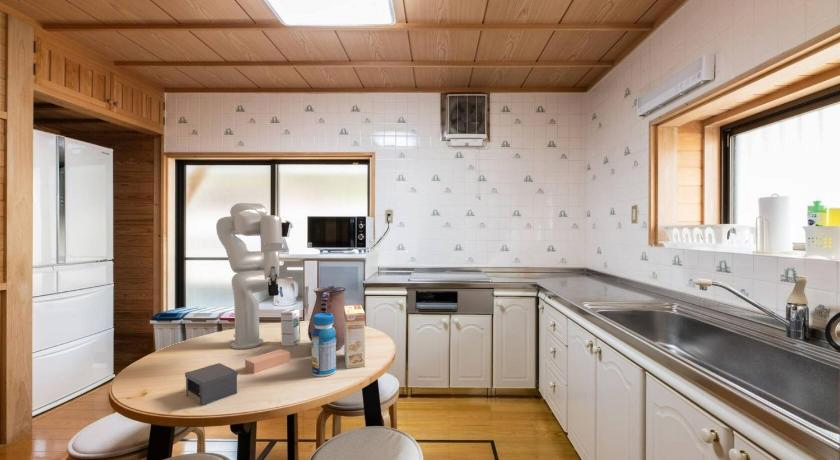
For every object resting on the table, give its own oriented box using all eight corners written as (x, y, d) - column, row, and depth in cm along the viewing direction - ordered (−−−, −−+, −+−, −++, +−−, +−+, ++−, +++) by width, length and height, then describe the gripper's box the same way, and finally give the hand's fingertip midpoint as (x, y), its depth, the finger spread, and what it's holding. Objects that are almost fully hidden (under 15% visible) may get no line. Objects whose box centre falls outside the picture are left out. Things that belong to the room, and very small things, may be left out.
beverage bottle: (330, 378, 124) (329, 318, 124) (307, 376, 125) (306, 317, 125) (340, 368, 132) (339, 312, 132) (318, 367, 134) (317, 311, 134)
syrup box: (293, 346, 158) (293, 312, 158) (281, 345, 159) (280, 311, 159) (300, 342, 164) (300, 309, 163) (288, 341, 165) (287, 308, 165)
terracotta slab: (245, 370, 132) (245, 359, 132) (280, 359, 143) (280, 349, 143) (254, 374, 128) (254, 363, 128) (289, 362, 140) (289, 352, 140)
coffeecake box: (365, 366, 133) (365, 312, 133) (345, 369, 132) (345, 314, 132) (362, 353, 148) (361, 304, 148) (344, 355, 146) (343, 305, 146)
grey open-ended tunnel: (185, 395, 112) (185, 372, 112) (219, 383, 120) (219, 362, 120) (202, 406, 105) (202, 382, 105) (238, 393, 113) (237, 371, 113)
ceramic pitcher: (350, 340, 165) (350, 283, 165) (352, 356, 145) (351, 292, 145) (309, 343, 162) (308, 285, 161) (305, 360, 141) (304, 294, 141)
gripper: (260, 248, 146) (262, 292, 146) (260, 249, 130) (262, 298, 130) (281, 247, 149) (282, 290, 149) (283, 248, 133) (285, 295, 133)
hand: (273, 294), depth 139 cm, fingers open, 9 cm apart
